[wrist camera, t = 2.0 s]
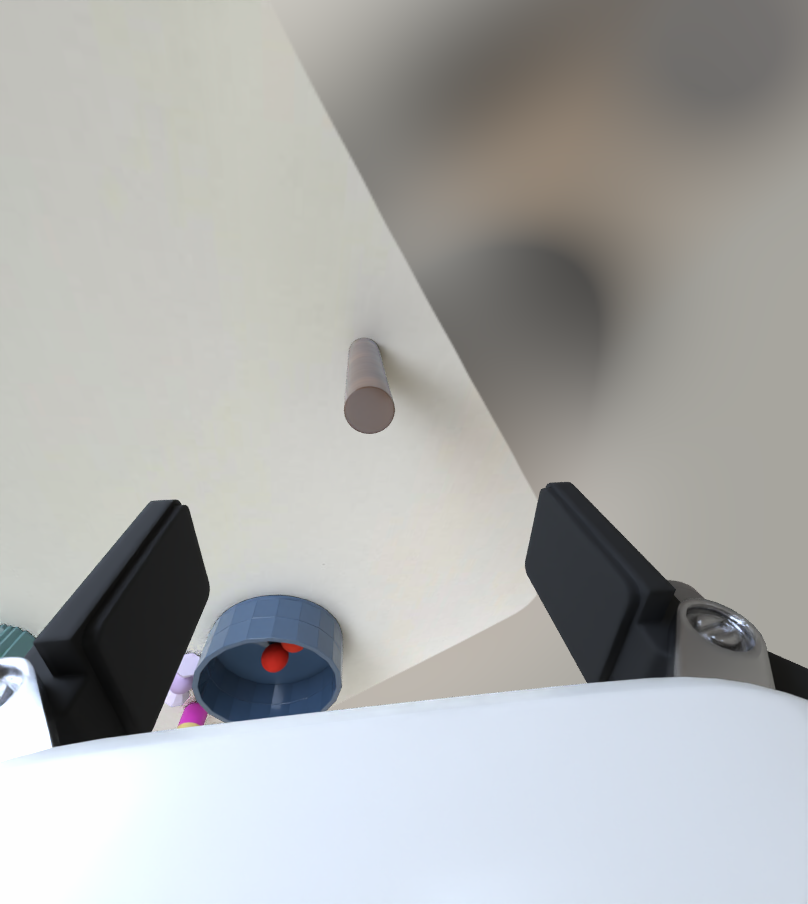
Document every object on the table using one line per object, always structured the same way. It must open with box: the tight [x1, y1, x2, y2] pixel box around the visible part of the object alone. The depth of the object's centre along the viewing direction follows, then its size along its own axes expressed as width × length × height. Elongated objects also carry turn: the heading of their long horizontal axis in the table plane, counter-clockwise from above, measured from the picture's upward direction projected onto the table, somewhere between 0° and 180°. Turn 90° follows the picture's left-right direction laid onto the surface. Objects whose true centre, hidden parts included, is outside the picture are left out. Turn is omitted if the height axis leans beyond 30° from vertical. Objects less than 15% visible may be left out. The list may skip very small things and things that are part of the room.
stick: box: [344, 338, 395, 434], centre depth 26 cm, size 3×3×14 cm
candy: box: [165, 653, 208, 729], centre depth 46 cm, size 18×8×6 cm, turn 154°
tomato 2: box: [281, 643, 303, 653], centre depth 43 cm, size 3×3×3 cm
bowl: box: [192, 595, 343, 723], centre depth 44 cm, size 15×15×6 cm
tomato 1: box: [261, 643, 289, 673], centre depth 44 cm, size 3×3×3 cm
